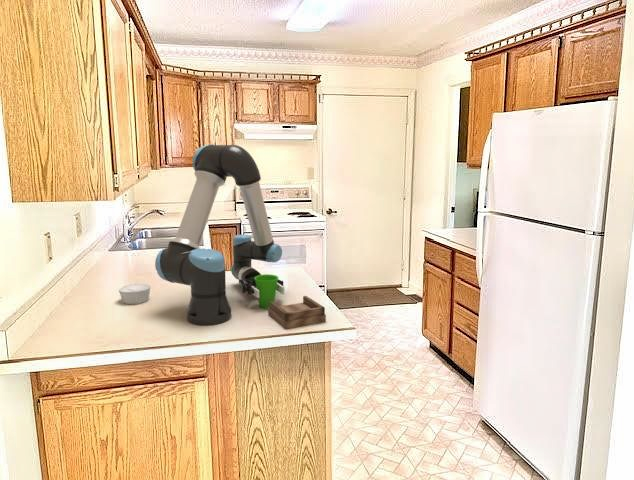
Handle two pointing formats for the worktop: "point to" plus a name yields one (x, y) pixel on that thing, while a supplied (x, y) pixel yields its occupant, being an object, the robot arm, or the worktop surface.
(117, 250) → the worktop surface
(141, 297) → the ramekin
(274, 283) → the cup
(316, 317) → the wooden tray
